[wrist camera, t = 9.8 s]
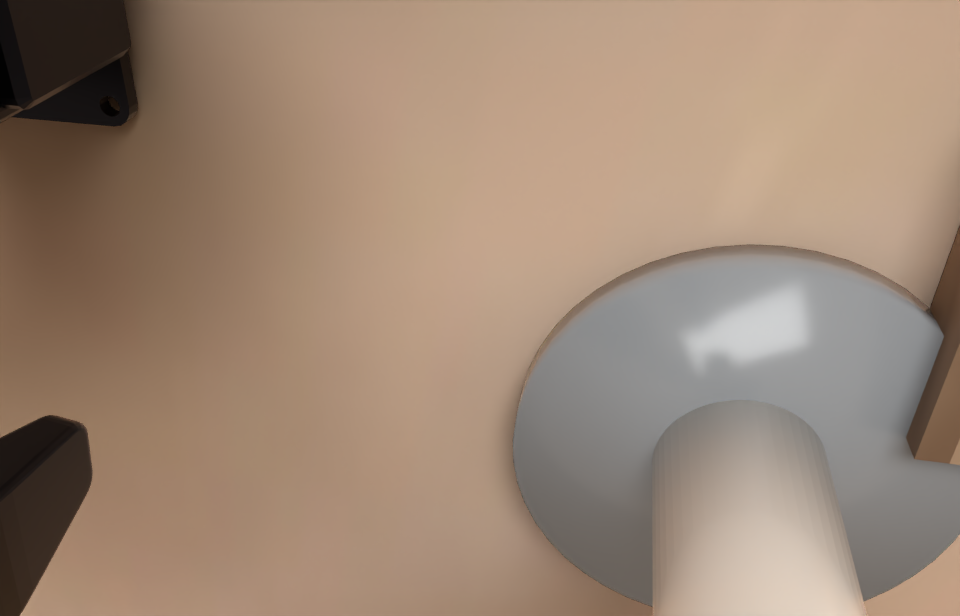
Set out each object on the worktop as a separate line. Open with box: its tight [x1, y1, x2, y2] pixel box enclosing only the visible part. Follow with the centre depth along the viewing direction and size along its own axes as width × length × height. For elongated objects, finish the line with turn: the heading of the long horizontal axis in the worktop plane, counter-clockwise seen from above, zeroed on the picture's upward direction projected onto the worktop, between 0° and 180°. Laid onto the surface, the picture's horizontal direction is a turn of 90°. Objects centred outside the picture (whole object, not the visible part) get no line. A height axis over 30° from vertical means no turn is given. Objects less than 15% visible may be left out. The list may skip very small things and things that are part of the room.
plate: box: [513, 245, 960, 607], centre depth 23 cm, size 12×12×1 cm
